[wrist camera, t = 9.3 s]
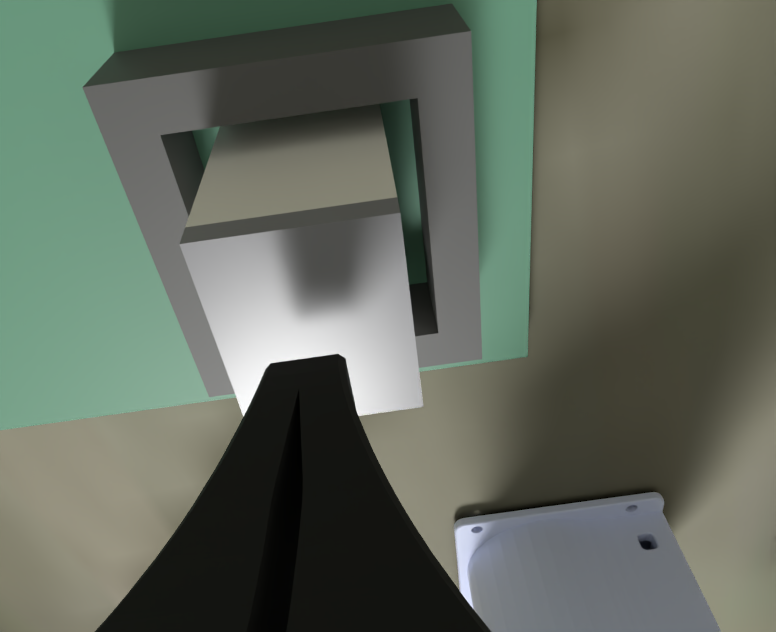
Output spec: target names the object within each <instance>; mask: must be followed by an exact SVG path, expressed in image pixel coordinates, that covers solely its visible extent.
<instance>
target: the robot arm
mask: <svg viewBox="0 0 776 632" xmlns="http://www.w3.org/2000/svg"><path fill="white" fill-rule="evenodd" d="M663 507H664V499H663V497H662V495H661V494H660V493H657V492H649V493H642V494H635V495H627V496H620V497H613V498H606V499H598V500H591V501H584V502H576V503H569V504H562V505H554V506H547V507H540V508H533V509H525V510H518V511H511V512H503V513H496V514H489V515H482V516H474V517H467V518H462V519H459V520H457V521H456V522H455V523H454V534H455V545H456V556H457V567H458V578H459V589H460V591H459V589H458V588H457V587H456V585H455V584H454V582H453V581H452V580H451V578H450V577H449V576H448V574H447V573H446V571H445V570H444V569H443V567H442V566H441V565H440V563H439V562H438V560H437V559H436V558H435V556H434V555H433V553H432V552H431V551H430V549H429V547H428V546H427V544H426V543H425V541H424V540H423V538H422V537H421V535H420V534H419V532H418V531H417V529H416V528H415V526H414V524H413V523H412V521H411V519H410V518H409V516H408V514H407V513H406V511H405V510H404V508H403V506H402V505H401V503H400V501H399V499H398V498H397V496H396V494H395V492H394V490H393V489H392V487H391V485H390V483H389V481H388V479H387V477H386V476H385V474H384V472H383V470H382V468H381V466H380V464H379V462H378V460H377V458H376V456H375V454H374V452H373V449H372V447H371V445H370V443H369V440H368V438H367V436H366V433H365V431H364V429H363V426H362V424H361V422H360V419H359V416H358V414H357V411H356V406H355V401H354V396H353V392H352V387H351V382H350V377H349V373H348V368H347V363H346V359H345V358H344V357H343V356H341V355H339V354H333V355H326V356H319V357H312V358H304V359H297V360H290V361H283V362H276V363H270V364H269V366H268V367H267V368H266V369H265V372H264V374H263V376H262V379H261V381H260V383H259V385H258V388H257V390H256V392H255V394H254V396H253V399H252V401H251V403H250V405H249V407H248V409H247V411H246V413H245V415H244V417H243V419H242V421H241V423H240V425H239V427H238V429H237V431H236V432H235V434H234V436H233V438H232V440H231V442H230V444H229V445H228V447H227V449H226V451H225V453H224V455H223V457H222V458H221V460H220V462H219V464H218V465H217V467H216V469H215V470H214V472H213V474H212V475H211V477H210V478H209V480H208V482H207V483H206V485H205V487H204V488H203V490H202V491H201V493H200V495H199V496H198V498H197V500H196V501H195V503H194V504H193V506H192V507H191V509H190V511H189V512H188V513H187V515H186V516H185V518H184V519H183V521H182V522H181V524H180V525H179V527H178V528H177V530H176V531H175V533H174V534H173V535H172V537H171V538H170V539H169V541H168V542H167V544H166V545H165V546H164V548H163V549H162V550H161V552H160V553H159V555H158V556H157V557H156V559H155V560H154V561H153V562H152V564H151V565H150V566H149V567H148V569H147V570H146V571H145V573H144V574H143V575H142V576H141V578H140V579H139V580H138V581H137V583H136V584H135V585H134V586H133V588H132V589H131V590H130V591H129V593H128V594H127V595H126V596H125V598H124V599H123V600H122V601H121V602H120V604H119V605H118V606H117V607H116V608H115V609H114V611H113V612H112V613H111V614H110V615H109V616H108V618H107V619H106V620H105V621H104V622H103V623H102V624H101V625H100V627H99V628H98V629H97V630H96V631H95V632H721V631H720V628H719V626H718V624H717V622H716V620H715V618H714V616H713V614H712V612H711V610H710V608H709V606H708V604H707V602H706V600H705V598H704V596H703V594H702V592H701V589H700V587H699V585H698V583H697V581H696V579H695V577H694V575H693V573H692V571H691V569H690V567H689V565H688V563H687V561H686V559H685V557H684V555H683V553H682V551H681V549H680V547H679V545H678V542H677V540H676V538H675V536H674V534H673V532H672V530H671V528H670V526H669V524H668V522H667V520H666V518H665V516H664V514H663V512H662V511H663Z"/></svg>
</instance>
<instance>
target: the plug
mask: <svg viewBox="0 0 776 632" xmlns="http://www.w3.org/2000/svg"><path fill="white" fill-rule="evenodd" d="M179 245H180V247H181V250H182V253H183V255H184V258H185V261H186V263H187V266H188V269H189V271H190V274H191V277H192V280H193V282H194V285H195V288H196V290H197V293H198V296H199V298H200V301H201V304H202V306H203V309H204V312H205V314H206V317H207V320H208V322H209V325H210V328H211V330H212V333H213V336H214V338H215V341H216V344H217V347H218V349H219V352H220V355H221V357H222V360H223V363H224V365H225V368H226V371H227V373H228V376H229V379H230V381H231V384H232V387H233V389H234V392H235V395H236V397H237V400H238V403H239V406H240V408H241V411H242V414H243V416H244V415H245V413H246V411H247V409H248V407H249V405H250V403H251V401H252V399H253V396H254V394H255V392H256V390H257V388H258V385H259V383H260V381H261V379H262V376H263V374H264V372H265V369H266V368H267V367H268V366H269V364H270V363H276V362H283V361H290V360H297V359H304V358H312V357H319V356H326V355H333V354H339V355H341V356H343V357H344V358H345V359H346V363H347V368H348V373H349V377H350V382H351V387H352V392H353V396H354V401H355V406H356V411H357V414H358V416H361V415H368V414H375V413H382V412H389V411H397V410H404V409H411V408H418V407H423V399H422V391H421V382H420V374H419V366H418V357H417V349H416V340H415V332H414V323H413V315H412V306H411V298H410V290H409V281H408V273H407V264H406V256H405V247H404V239H403V230H402V222H401V214H400V208H399V203H398V198H397V193H396V187H395V182H394V177H393V172H392V167H391V161H390V156H389V151H388V146H387V141H386V136H385V130H384V125H383V120H382V115H381V110H380V104H373V105H366V106H359V107H352V108H345V109H338V110H331V111H325V112H318V113H311V114H304V115H297V116H290V117H283V118H276V119H269V120H262V121H255V122H248V123H241V124H234V125H227V126H220V128H219V131H218V134H217V137H216V139H215V142H214V145H213V148H212V151H211V154H210V157H209V160H208V163H207V165H206V168H205V171H204V174H203V177H202V180H201V183H200V186H199V189H198V192H197V194H196V197H195V200H194V203H193V206H192V209H191V212H190V215H189V218H188V220H187V223H186V226H185V229H184V232H183V235H182V238H181V241H180V244H179Z"/></svg>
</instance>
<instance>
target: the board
mask: <svg viewBox="0 0 776 632" xmlns="http://www.w3.org/2000/svg"><path fill="white" fill-rule="evenodd" d="M536 6H537V0H0V430H5V429H12V428H20V427H27V426H34V425H41V424H48V423H55V422H63V421H70V420H77V419H84V418H91V417H98V416H106V415H113V414H120V413H127V412H134V411H141V410H149V409H156V408H163V407H170V406H177V405H184V404H192V403H199V402H206V401H213V400H220V399H227V398H235V397H236V395H235V392H234V389H233V387H232V384H231V381H230V379H229V376H228V373H227V371H226V368H225V365H224V363H223V360H222V357H221V355H220V352H219V349H218V347H217V344H216V341H215V338H214V336H213V333H212V330H211V328H210V325H209V322H208V320H207V317H206V314H205V312H204V309H203V306H202V304H201V301H200V298H199V296H198V293H197V290H196V288H195V285H194V282H193V280H192V277H191V274H190V271H189V269H188V266H187V263H186V261H185V258H184V255H183V253H182V250H181V247H180V245H179V244H180V241H181V238H182V235H183V232H184V229H185V226H186V223H187V220H188V218H189V215H190V212H191V209H192V206H193V203H194V200H195V197H196V194H197V192H198V189H199V186H200V183H201V180H202V177H203V174H204V171H205V168H206V165H207V163H208V160H209V157H210V154H211V151H212V148H213V145H214V142H215V139H216V137H217V134H218V131H219V128H220V126H227V125H234V124H241V123H248V122H255V121H262V120H269V119H276V118H283V117H290V116H297V115H304V114H311V113H318V112H325V111H331V110H338V109H345V108H352V107H359V106H366V105H373V104H380V110H381V115H382V120H383V125H384V130H385V136H386V141H387V146H388V151H389V156H390V161H391V167H392V172H393V177H394V182H395V187H396V193H397V198H398V203H399V208H400V214H401V222H402V230H403V239H404V247H405V256H406V264H407V273H408V281H409V290H410V298H411V306H412V315H413V323H414V332H415V340H416V349H417V357H418V366H419V372H421V371H428V370H435V369H443V368H450V367H457V366H464V365H471V364H478V363H486V362H493V361H500V360H507V359H514V358H521V357H528V325H529V285H530V245H531V205H532V166H533V126H534V86H535V46H536Z"/></svg>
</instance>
